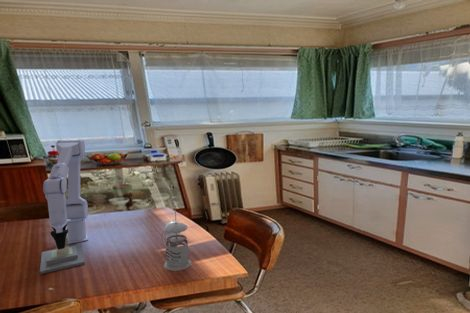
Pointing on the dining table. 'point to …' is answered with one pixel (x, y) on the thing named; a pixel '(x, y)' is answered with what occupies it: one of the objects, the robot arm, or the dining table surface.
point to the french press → (180, 259)
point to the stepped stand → (61, 259)
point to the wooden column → (66, 249)
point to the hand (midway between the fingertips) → (61, 244)
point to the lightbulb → (172, 233)
